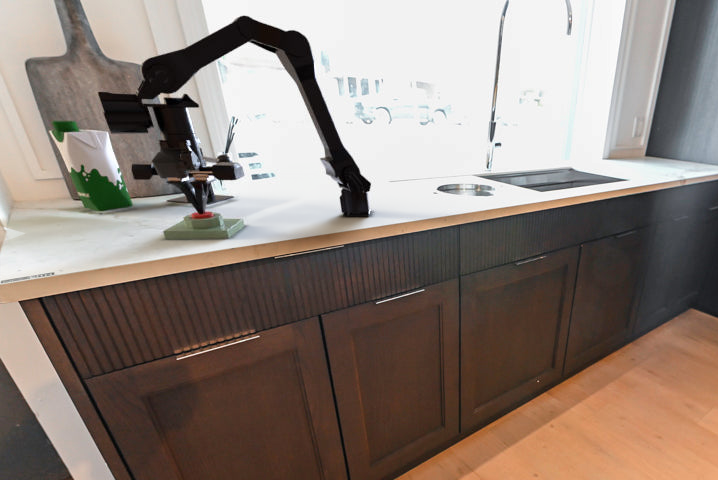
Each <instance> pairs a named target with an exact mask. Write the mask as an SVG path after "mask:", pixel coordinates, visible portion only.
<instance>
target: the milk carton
mask: <svg viewBox="0 0 718 480" xmlns="http://www.w3.org/2000/svg"><path fill="white" fill-rule="evenodd" d="M51 124H52V126H53V129H54V130H48V131H49V132H48V133H49V134H50V136H51V138H52V140H53V142H54V143H55V145H56V147H57V148H58V151H59V152H60V155H61V157H62V159H63V163H64V164H65V166H66V169H67V171H68V173H69V175H70V178H71V180H72V182H73V185H74V187H75V190H76V192H77V194H78V197H79V199H80V201H81V203H82V205H83V207H84V209H87V210H92V211H95V212H99V213H97V214H99V215H102V212H106V211H111V210H117V209H123V208H130V207H133V206H134V204H133V201H132V198H131V196H130V193H129V191H128V188H127V185H126V182H125V180H124V177H123V174H122V172H121V169H120V165H119V163H118V161H117V158H116V155H115V152H114V150H113V146H112V142H111V140H110V139H111V138H110V135H109V132H108V131H105V130H104V131H103V130H96V129H79V126H78V124H77V122H76V120H52V121H51ZM100 212H101V213H100Z"/></svg>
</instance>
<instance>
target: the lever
mask: <svg viewBox="0 0 718 480" xmlns="http://www.w3.org/2000/svg"><path fill="white" fill-rule="evenodd" d="M202 159H203V160H205V161H206V163H207V162H208V163H213V164H217V163H220V162H233V160H232V157H230V156H228V155H227V154H220V155H219V154H218V156H217V157H212V156H207V155H206V156H205V155H203V156H202Z"/></svg>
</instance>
